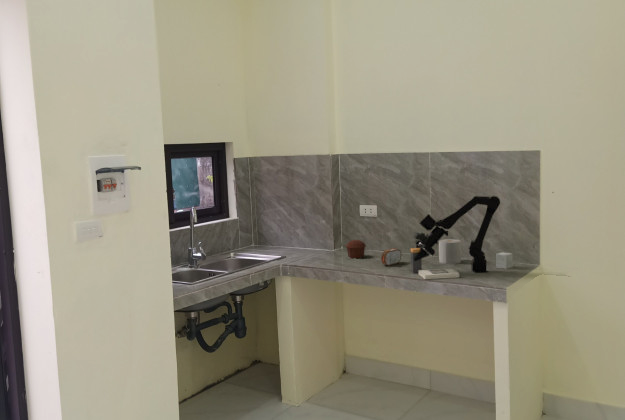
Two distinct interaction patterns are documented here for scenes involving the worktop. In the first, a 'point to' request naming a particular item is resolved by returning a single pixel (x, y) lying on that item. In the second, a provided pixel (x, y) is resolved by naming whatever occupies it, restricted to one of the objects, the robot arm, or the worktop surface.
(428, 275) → the socket plate
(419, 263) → the plug
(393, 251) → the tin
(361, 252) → the muffin
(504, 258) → the product box
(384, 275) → the worktop surface
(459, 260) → the toilet paper roll
